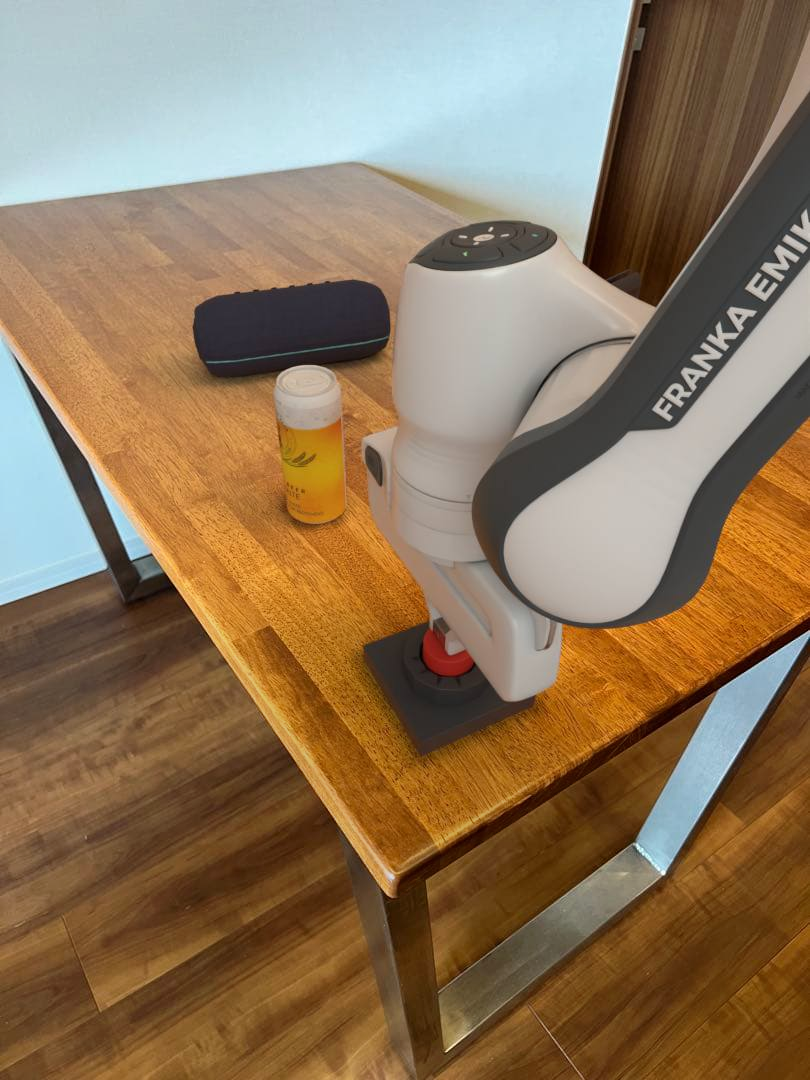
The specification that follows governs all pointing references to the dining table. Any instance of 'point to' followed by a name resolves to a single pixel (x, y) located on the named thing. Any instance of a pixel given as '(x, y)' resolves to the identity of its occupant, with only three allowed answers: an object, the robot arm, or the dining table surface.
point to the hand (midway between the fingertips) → (448, 639)
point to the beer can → (311, 442)
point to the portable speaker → (291, 327)
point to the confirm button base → (434, 693)
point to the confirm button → (444, 658)
